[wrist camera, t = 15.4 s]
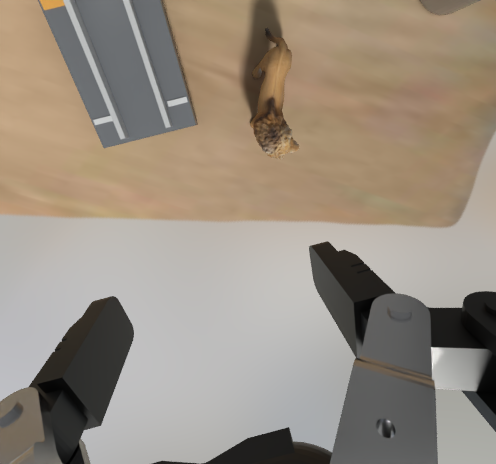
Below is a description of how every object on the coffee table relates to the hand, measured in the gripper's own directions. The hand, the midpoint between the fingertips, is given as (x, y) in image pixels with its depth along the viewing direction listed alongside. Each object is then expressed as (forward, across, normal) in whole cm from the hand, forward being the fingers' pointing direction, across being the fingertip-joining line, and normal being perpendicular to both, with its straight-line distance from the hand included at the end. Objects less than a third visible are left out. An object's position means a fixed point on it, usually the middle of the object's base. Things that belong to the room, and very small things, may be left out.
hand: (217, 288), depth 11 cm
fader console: (+30, +7, -17) cm, 35 cm away
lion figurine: (+30, -9, -7) cm, 32 cm away
